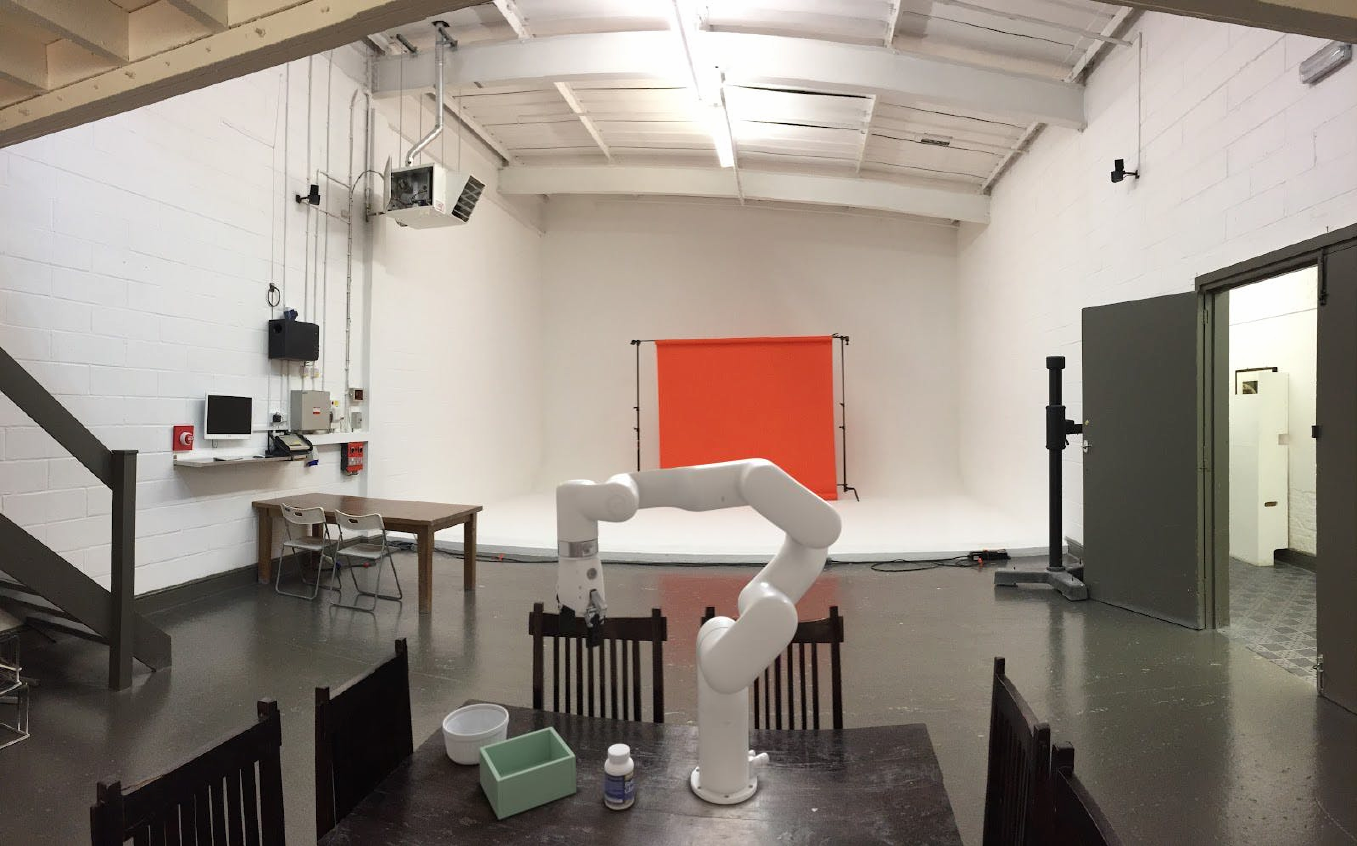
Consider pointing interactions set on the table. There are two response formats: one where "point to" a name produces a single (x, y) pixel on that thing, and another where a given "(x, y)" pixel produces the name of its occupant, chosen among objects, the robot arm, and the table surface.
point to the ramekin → (473, 731)
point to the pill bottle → (619, 777)
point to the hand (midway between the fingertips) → (580, 638)
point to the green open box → (527, 771)
